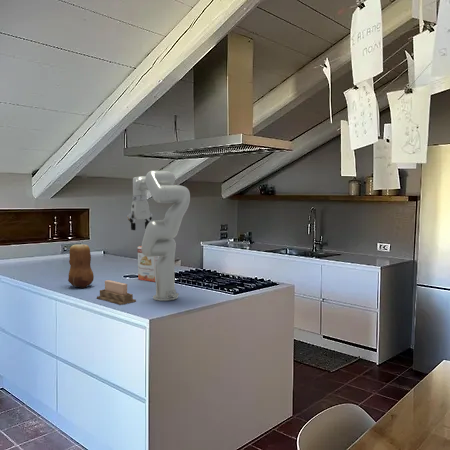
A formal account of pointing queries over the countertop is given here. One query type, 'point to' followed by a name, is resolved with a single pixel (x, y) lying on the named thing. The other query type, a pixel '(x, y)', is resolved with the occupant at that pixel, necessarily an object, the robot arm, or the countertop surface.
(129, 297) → the slot rack
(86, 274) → the butternut squash
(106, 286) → the clay strip
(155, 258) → the cracker box
